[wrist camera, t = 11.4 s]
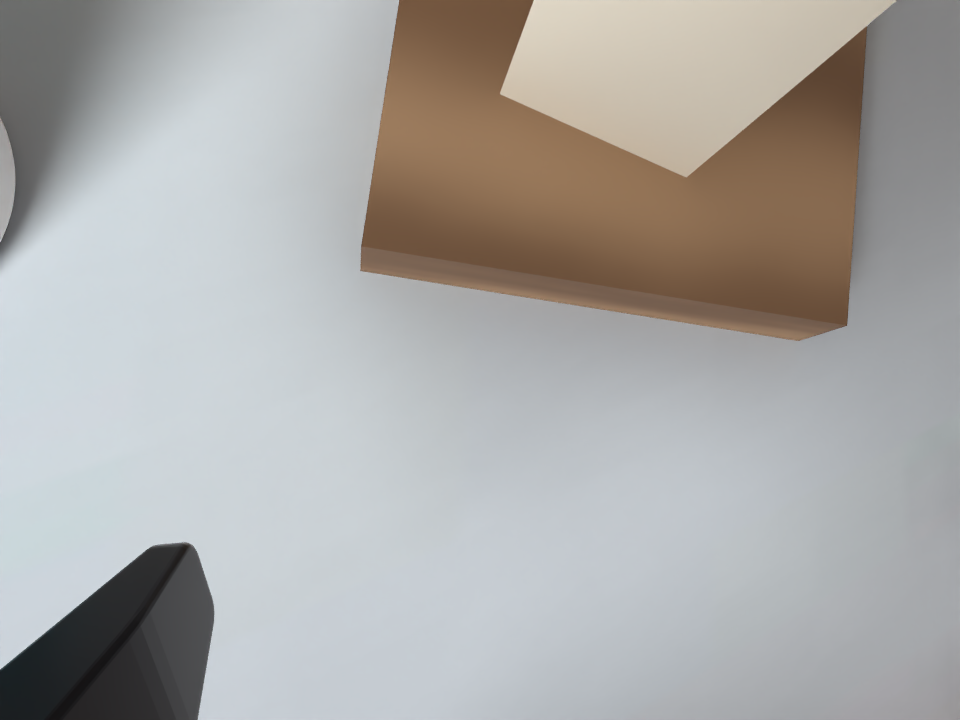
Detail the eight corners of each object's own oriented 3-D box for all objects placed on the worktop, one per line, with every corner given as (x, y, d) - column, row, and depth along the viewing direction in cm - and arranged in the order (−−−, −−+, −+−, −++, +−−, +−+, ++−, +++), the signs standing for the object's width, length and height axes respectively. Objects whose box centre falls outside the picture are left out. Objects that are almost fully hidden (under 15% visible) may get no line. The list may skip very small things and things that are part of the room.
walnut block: (788, 343, 25) (846, 325, 22) (360, 276, 23) (361, 246, 20) (818, -47, 27) (875, -112, 24) (422, -132, 25) (432, -213, 22)
